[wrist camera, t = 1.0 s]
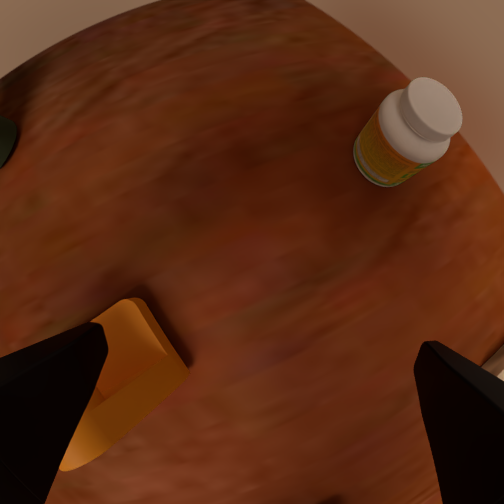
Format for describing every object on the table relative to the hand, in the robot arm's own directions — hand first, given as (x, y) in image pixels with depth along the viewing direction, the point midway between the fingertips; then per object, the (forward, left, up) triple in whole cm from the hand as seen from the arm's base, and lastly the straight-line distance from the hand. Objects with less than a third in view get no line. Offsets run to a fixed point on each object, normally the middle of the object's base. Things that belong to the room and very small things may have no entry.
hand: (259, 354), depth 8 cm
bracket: (-8, +10, -16) cm, 20 cm away
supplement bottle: (+14, -7, -16) cm, 22 cm away
